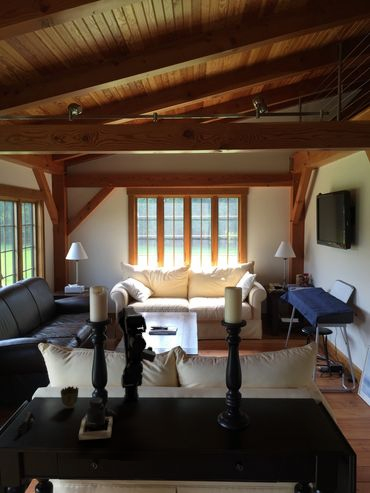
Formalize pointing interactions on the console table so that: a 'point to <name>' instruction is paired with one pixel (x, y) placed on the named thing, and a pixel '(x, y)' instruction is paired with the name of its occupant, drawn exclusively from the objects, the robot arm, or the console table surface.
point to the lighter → (26, 423)
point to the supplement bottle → (96, 415)
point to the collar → (95, 434)
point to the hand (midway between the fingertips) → (135, 381)
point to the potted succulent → (69, 396)
